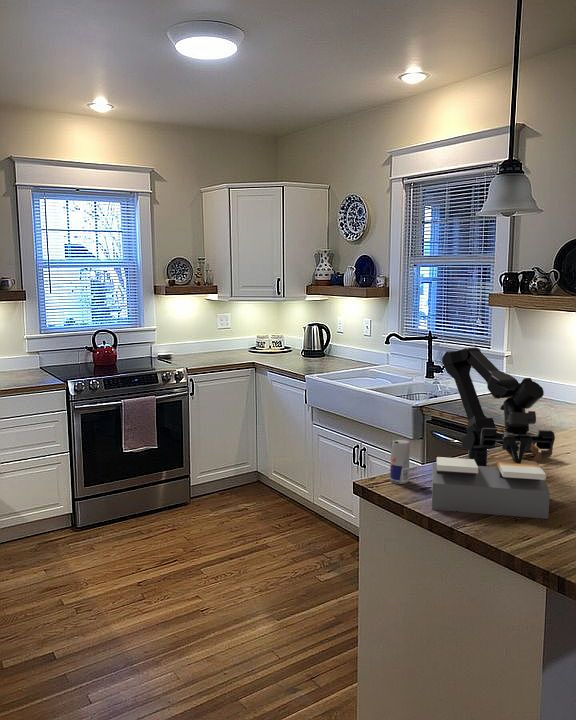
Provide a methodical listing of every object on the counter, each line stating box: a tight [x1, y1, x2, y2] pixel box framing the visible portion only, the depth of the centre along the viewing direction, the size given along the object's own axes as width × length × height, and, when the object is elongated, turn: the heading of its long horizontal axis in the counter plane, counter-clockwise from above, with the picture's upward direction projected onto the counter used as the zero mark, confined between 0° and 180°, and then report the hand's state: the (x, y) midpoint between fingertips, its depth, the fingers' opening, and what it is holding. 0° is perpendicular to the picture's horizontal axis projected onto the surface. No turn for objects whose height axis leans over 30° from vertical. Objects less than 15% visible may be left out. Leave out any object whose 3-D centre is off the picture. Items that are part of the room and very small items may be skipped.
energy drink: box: [389, 438, 411, 485], centre depth 185 cm, size 5×5×12 cm
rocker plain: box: [436, 456, 478, 473], centre depth 170 cm, size 16×10×1 cm, turn 167°
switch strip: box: [431, 462, 551, 520], centre depth 169 cm, size 18×28×8 cm, turn 77°
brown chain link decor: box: [516, 442, 554, 463], centre depth 208 cm, size 12×10×8 cm
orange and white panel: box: [496, 458, 547, 481], centre depth 166 cm, size 16×10×1 cm, turn 167°
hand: (518, 465), depth 170 cm, fingers closed, pressing on orange and white panel
